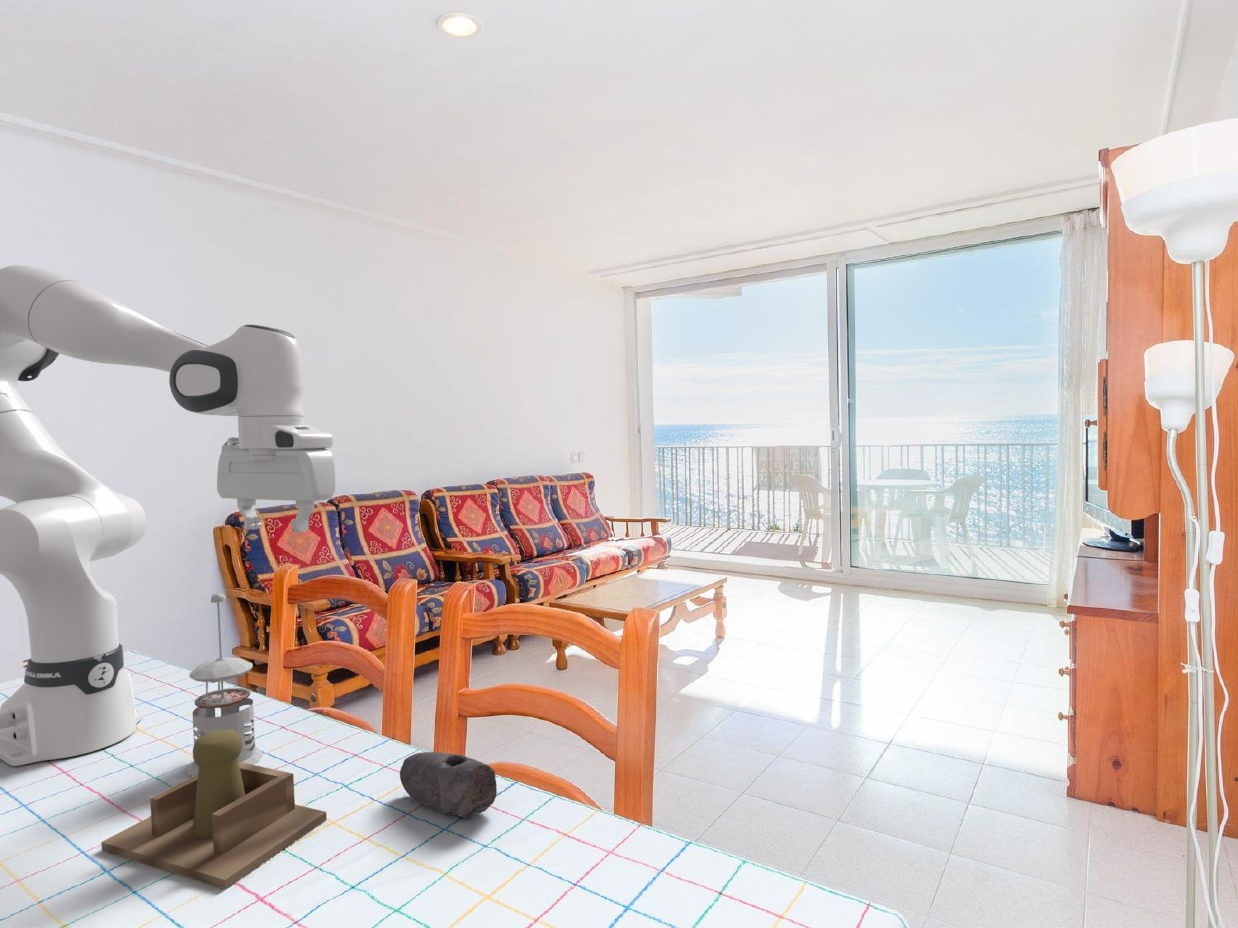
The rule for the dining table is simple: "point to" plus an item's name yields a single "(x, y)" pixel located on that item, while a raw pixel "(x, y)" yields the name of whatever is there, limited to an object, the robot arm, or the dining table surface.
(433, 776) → the perforated stone tool
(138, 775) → the dining table surface
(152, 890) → the dining table surface
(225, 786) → the cork
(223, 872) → the u rest
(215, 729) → the french press
